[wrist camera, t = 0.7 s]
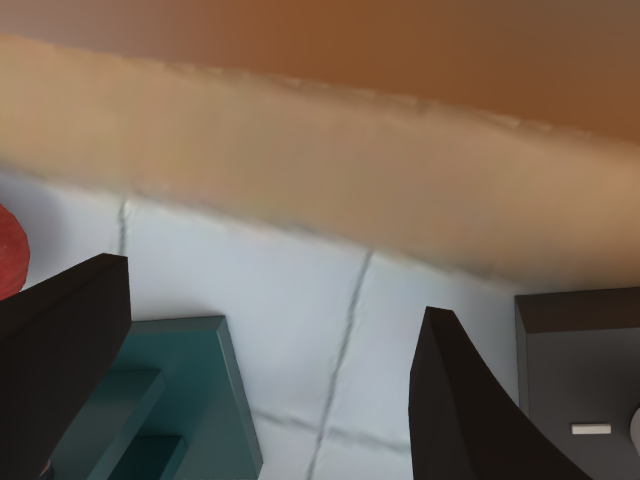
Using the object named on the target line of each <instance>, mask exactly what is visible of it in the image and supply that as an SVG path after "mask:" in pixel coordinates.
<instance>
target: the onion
mask: <svg viewBox="0 0 640 480" xmlns="http://www.w3.org/2000/svg"><path fill="white" fill-rule="evenodd" d="M29 258H30V250H29V245H28V241H27V236H26V234H25V232H24V230H23V229H22V227H21V226H20V224H19V223H18V221H17V220H16V218H15V216H14V215H12V214H11V213H10V212H9V211H8V210H7V209H6V208H4V207H3V206H2V205H1V204H0V301H1V300H3V299H5V298H7V297H10V296H12V295H14V294H17V293H19V291H20V290H21V288H22V287H23V285H24V284H25V282H26V277H27V271H28V265H29Z"/></svg>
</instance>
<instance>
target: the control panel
mask: <svg viewBox="0 0 640 480" xmlns="http://www.w3.org/2000/svg"><path fill="white" fill-rule="evenodd" d="M514 299H515V321H516V342H517V363H518V384H519V405H520V410H521V411H522V412H523V413H524V414H525V415H526V416H527V418H528V419H529V420H530V421H531V422H532V423H533V424H534V425H535V426H536V427H537V428H538V430H539V431H540V432H541V433H542V434H543V435H544V436H545V437H546V438H547V439H548V440H549V441H550V442H551V443H553V444H554V445H555V446H556V447H557V448H558V449H559V450H560V451H561V452H562V453H563V454H564V455H566V456H567V457H568V458H569V459H570V460H571V461H572V462H573V463H574V464H575V465H577V466H578V467H579V468H580V469H581V470H583V471H584V472H585V473H586V474H587V475H588V476H590V477H591V478H592V479H593V480H640V456H639V454H638V452H637V450H636V448H635V445H634V443H633V441H632V439H631V434H630V427H631V422H632V418H633V416H634V414H635V413H636V411H637V410H638V409H639V408H640V287H638V288H623V289H609V290H594V291H579V292H565V293H550V294H535V295H521V296H515V297H514Z"/></svg>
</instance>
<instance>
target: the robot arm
mask: <svg viewBox="0 0 640 480" xmlns="http://www.w3.org/2000/svg"><path fill="white" fill-rule="evenodd" d="M131 326H132V323H131V306H130V289H129V273H128V257H125V256H119V255H113V254H106V253H102V254H99V255H97V256H95V257H92V258H90V259H88V260H86V261H84V262H82V263H79V264H77V265H75V266H73V267H71V268H69V269H67V270H65V271H63V272H61V273H59V274H57V275H55V276H53V277H51V278H49V279H47V280H45V281H43V282H41V283H38V284H36V285H34V286H32V287H30V288H28V289H26V290H23V291H21V292H19V293H17V294H14V295H12V296H10V297H7V298H5V299H3V300H1V301H0V480H38V479H39V477H40V475H41V473H42V471H43V469H44V467H45V466H46V464H47V462H48V460H49V458H50V456H51V455H52V453H53V451H54V449H55V448H56V446H57V444H58V443H59V441H60V440H61V438H62V436H63V435H64V433H65V432H66V430H67V429H68V427H69V426H70V424H71V423H72V422H73V420H74V419H75V417H76V416H77V414H78V413H79V411H80V410H81V409H82V407H83V406H84V404H85V403H86V401H87V400H88V398H89V397H90V396H91V394H92V393H93V391H94V390H95V388H96V387H97V385H98V384H99V383H100V381H101V380H102V378H103V377H104V375H105V374H106V372H107V371H108V369H109V368H110V366H111V365H112V363H113V362H114V360H115V358H116V356H117V354H118V352H119V351H120V349H121V347H122V345H123V343H124V340H125V338H126V336H127V334H128V332H129V330H130V328H131ZM408 415H409V429H410V442H411V454H412V467H413V479H414V480H593V479H592V478H591V477H590V476H588V475H587V474H586V473H585V472H584V471H583V470H581V469H580V468H579V467H578V466H577V465H575V464H574V463H573V462H572V461H571V460H570V459H569V458H568V457H567V456H566V455H564V454H563V453H562V452H561V451H560V450H559V449H558V448H557V447H556V446H555V445H554V444H553V443H551V442H550V441H549V440H548V439H547V438H546V437H545V436H544V435H543V434H542V433H541V432H540V431H539V430H538V428H537V427H536V426H535V425H534V424H533V423H532V422H531V421H530V420H529V419H528V418H527V416H526V415H525V414H524V413H523V412H522V411H521V410H520V409H519V408H518V406H517V405H516V404H515V403H514V402H513V400H512V399H511V398H510V397H509V395H508V394H507V393H506V392H505V390H504V389H503V388H502V386H501V385H500V384H499V382H498V381H497V379H496V378H495V377H494V375H493V374H492V372H491V371H490V369H489V368H488V366H487V365H486V363H485V362H484V360H483V359H482V358H481V356H480V354H479V353H478V351H477V350H476V348H475V347H474V345H473V343H472V342H471V340H470V338H469V337H468V335H467V333H466V332H465V330H464V328H463V326H462V325H461V323H460V321H459V319H458V318H457V316H456V314H455V313H454V312H453V310H447V309H441V308H435V307H429V306H426V310H425V314H424V318H423V322H422V326H421V330H420V334H419V338H418V343H417V347H416V351H415V355H414V359H413V363H412V367H411V371H410V384H409V406H408Z"/></svg>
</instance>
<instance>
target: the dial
mask: <svg viewBox="0 0 640 480" xmlns="http://www.w3.org/2000/svg"><path fill="white" fill-rule="evenodd" d="M630 434H631V439H632V441H633V443H634V445H635V448H636V450H637V452H638V454H639V456H640V408H639V409H638V410H637V411H636V413H635V414H634V416H633V418H632V422H631V427H630Z"/></svg>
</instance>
